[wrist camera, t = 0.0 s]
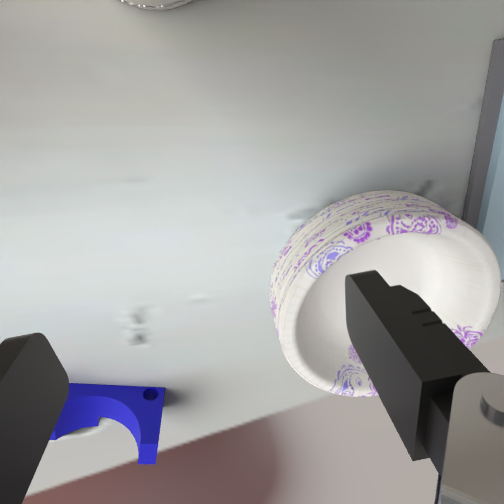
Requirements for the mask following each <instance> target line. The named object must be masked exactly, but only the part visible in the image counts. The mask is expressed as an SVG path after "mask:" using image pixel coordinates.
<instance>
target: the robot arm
mask: <svg viewBox="0 0 504 504" xmlns="http://www.w3.org/2000/svg"><path fill="white" fill-rule="evenodd" d="M120 1H122V2H124V3H127V4H129V5H131V6H134V7H138V8H143V9H148V10H169V9H172V8H176V7H179V6H182V5H185V4H187V3H189V2H190V1H192V0H120ZM345 305H346V325H347V330H348V334H349V337H350V340H351V343H352V345H353V347H354V349H355V350H356V352H357V354H358V356H359V358H360V360H361V362H362V364H363V366H364V368H365V370H366V372H367V374H368V376H369V378H370V379H371V381H372V383H373V385H374V387H375V389H376V391H377V393H378V395H379V397H380V399H381V401H382V403H383V405H384V406H385V408H386V410H387V412H388V414H389V416H390V418H391V420H392V422H393V424H394V426H395V428H396V430H397V432H398V433H399V435H400V437H401V439H402V441H403V443H404V445H405V447H406V449H407V451H408V453H409V455H410V457H411V459H412V461H416V460H421V459H425V458H430V459H431V461H432V462H433V464H434V466H435V468H436V469H437V471H438V473H439V474H438V480H437V487H436V494H435V502H434V504H504V375H500V374H495V373H491V372H490V371H488V370H487V368H486V367H485V366H484V365H483V364H482V363H481V362H480V361H479V360H478V359H477V358H476V357H475V356H474V354H472V352H471V351H470V350H469V349H468V348H467V347H466V346H465V345H464V344H463V342H462V341H461V340H460V339H459V338H458V337H457V336H456V335H455V334H454V333H453V332H452V331H451V329H450V328H449V327H448V326H447V325H446V324H445V323H442V320H441V319H440V318H439V316H438V315H437V314H436V313H435V312H434V311H431V308H430V307H429V306H428V305H427V303H426V302H425V301H424V300H423V299H422V298H421V297H420V296H419V295H418V294H416V293H414V292H413V291H411V290H409V289H407V288H405V287H403V286H401V285H395V286H389V284H388V283H387V282H386V281H385V280H384V278H383V277H382V276H381V275H380V274H379V272H378V271H376V270H371V271H365V272H360V273H355V274H349V275H346V277H345ZM68 393H69V380H68V376H67V373H66V371H65V370H64V368H63V366H62V364H61V363H60V361H59V359H58V357H57V356H56V354H55V352H54V350H53V349H52V347H51V345H50V343H49V342H48V340H47V338H46V337H45V336H44V335H43V334H41V333H33V334H27V335H22V336H17V337H12V338H7V339H5V340H4V341H3V342H2V343H1V344H0V504H22V502H23V500H24V497H25V495H26V493H27V490H28V488H29V486H30V483H31V481H32V479H33V476H34V474H35V472H36V469H37V467H38V465H39V462H40V460H41V458H42V455H43V453H44V451H45V448H46V446H47V444H48V442H49V439H50V437H51V435H52V432H53V430H54V428H55V425H56V423H57V421H58V418H59V416H60V414H61V411H62V409H63V407H64V404H65V402H66V400H67V397H68Z"/></svg>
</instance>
